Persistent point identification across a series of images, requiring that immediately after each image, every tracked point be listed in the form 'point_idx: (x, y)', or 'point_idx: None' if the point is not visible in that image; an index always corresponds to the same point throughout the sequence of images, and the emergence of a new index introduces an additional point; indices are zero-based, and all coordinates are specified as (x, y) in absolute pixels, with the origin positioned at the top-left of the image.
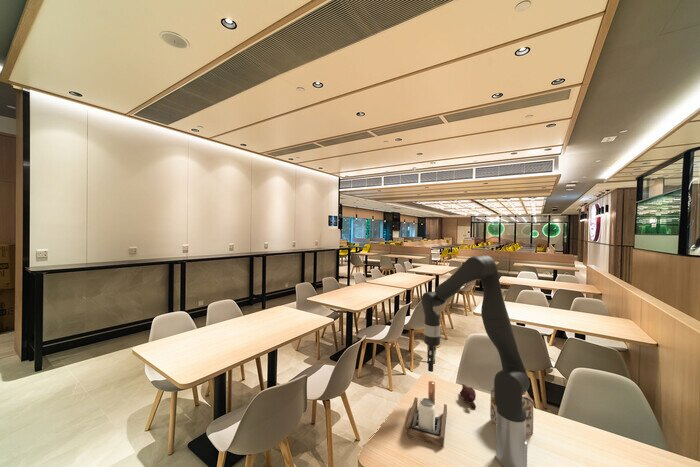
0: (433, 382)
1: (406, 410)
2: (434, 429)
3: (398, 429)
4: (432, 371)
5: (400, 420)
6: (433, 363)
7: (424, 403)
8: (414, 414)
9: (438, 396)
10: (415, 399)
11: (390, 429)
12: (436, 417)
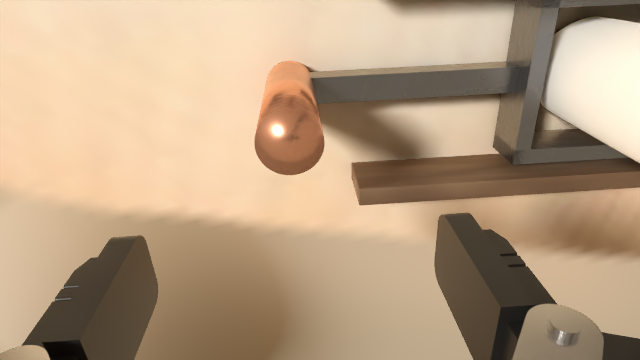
0: (273, 128)
1: (419, 208)
2: (610, 18)
3: (591, 204)
4: (467, 217)
5: (517, 213)
6: (146, 251)
7: None
8: (475, 162)
9: (151, 49)
10: (385, 196)
11: (598, 235)
12: (542, 21)
